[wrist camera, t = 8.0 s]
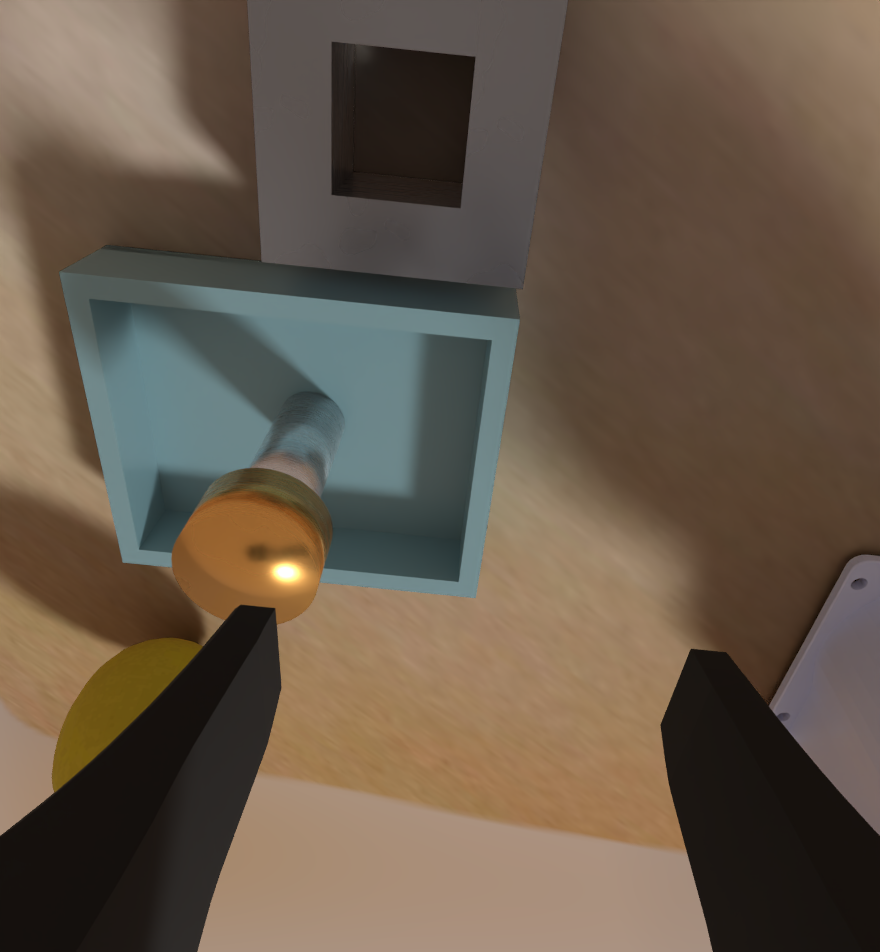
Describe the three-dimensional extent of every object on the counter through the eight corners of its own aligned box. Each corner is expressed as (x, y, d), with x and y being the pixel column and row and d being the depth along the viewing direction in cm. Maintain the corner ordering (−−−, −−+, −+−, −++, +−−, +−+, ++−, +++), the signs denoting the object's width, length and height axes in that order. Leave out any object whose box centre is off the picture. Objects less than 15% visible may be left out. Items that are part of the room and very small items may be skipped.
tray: (475, 548, 24) (475, 597, 21) (154, 515, 23) (122, 562, 21) (515, 287, 19) (520, 319, 16) (106, 245, 18) (58, 271, 16)
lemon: (269, 611, 26) (194, 813, 19) (254, 702, 29) (185, 905, 22) (122, 579, 25) (-8, 776, 19) (123, 675, 28) (11, 874, 22)
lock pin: (362, 470, 22) (318, 632, 16) (263, 460, 22) (180, 618, 16) (366, 378, 20) (317, 523, 14) (256, 367, 20) (162, 507, 14)
